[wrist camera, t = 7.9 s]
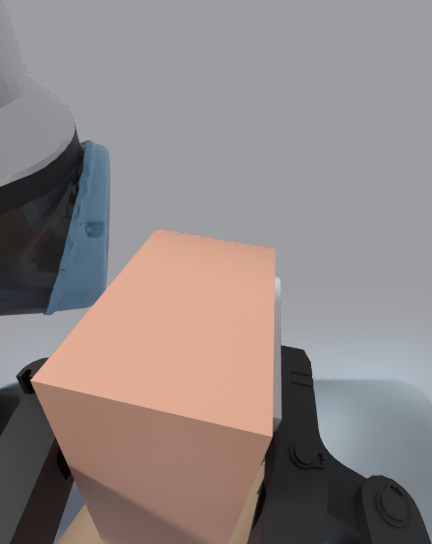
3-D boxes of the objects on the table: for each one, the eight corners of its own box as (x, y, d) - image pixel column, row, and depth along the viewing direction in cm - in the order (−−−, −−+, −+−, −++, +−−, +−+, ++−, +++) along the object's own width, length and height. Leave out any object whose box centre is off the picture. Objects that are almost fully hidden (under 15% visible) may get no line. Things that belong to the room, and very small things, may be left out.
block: (105, 548, 10) (29, 380, 5) (161, 398, 15) (156, 228, 10) (213, 579, 10) (272, 436, 4) (234, 415, 15) (275, 248, 9)
